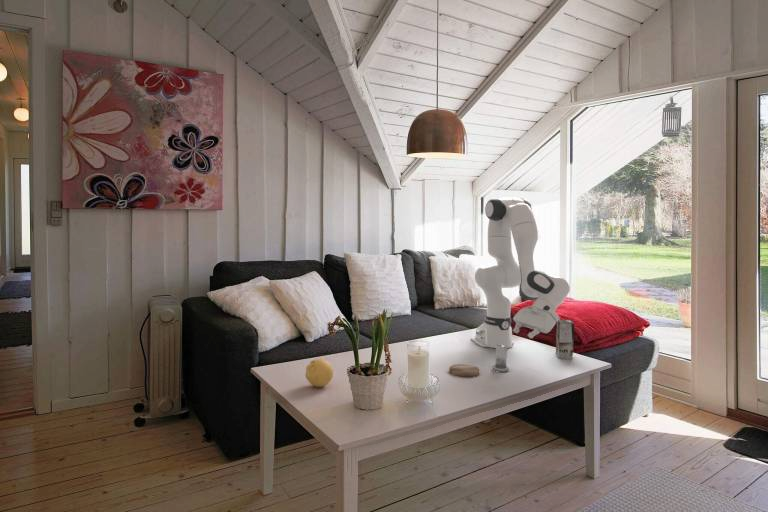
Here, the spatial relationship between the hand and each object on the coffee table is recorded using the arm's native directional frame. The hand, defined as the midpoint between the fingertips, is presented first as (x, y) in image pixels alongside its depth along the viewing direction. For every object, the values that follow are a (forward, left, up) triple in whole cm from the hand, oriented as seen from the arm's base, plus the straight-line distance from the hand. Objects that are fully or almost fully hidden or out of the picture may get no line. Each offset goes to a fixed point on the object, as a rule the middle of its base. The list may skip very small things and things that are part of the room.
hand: (522, 334), depth 210 cm
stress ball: (-5, -85, -14) cm, 86 cm away
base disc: (-2, -26, -14) cm, 29 cm away
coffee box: (-8, +30, -14) cm, 34 cm away
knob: (0, -10, -14) cm, 17 cm away
